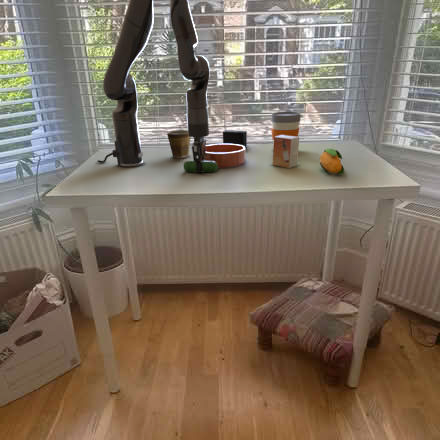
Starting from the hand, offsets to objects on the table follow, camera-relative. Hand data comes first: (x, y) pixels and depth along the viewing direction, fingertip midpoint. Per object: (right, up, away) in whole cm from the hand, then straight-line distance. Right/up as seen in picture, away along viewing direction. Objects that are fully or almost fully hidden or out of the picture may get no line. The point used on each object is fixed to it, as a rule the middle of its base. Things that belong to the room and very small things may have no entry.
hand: (200, 170), depth 149 cm
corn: (+48, -3, -6) cm, 48 cm away
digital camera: (+15, +23, +38) cm, 47 cm away
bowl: (+8, +7, +12) cm, 16 cm away
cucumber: (0, 0, 0) cm, 0 cm away
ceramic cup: (-10, +14, +25) cm, 30 cm away
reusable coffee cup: (+36, +17, +28) cm, 48 cm away
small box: (+32, +3, +5) cm, 33 cm away
